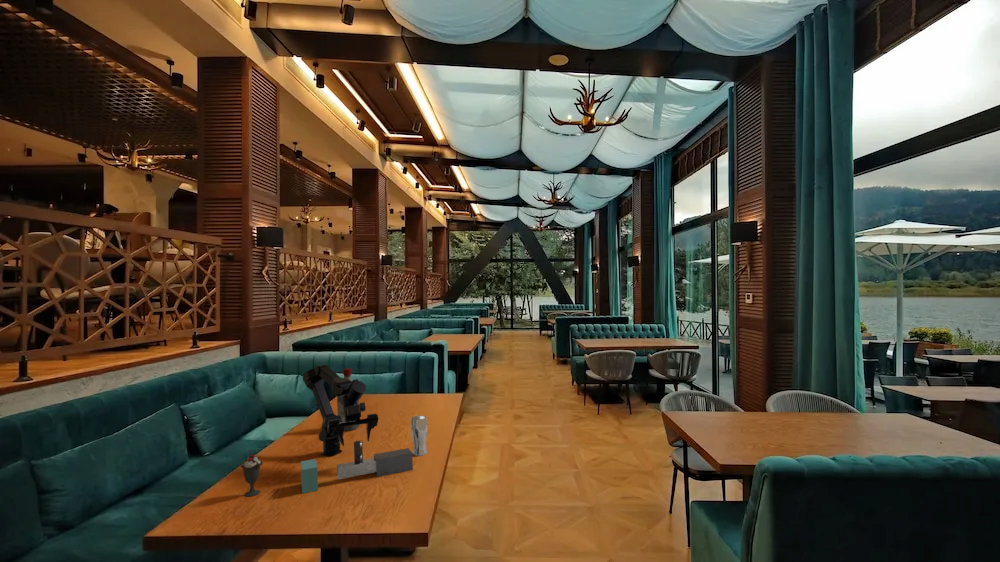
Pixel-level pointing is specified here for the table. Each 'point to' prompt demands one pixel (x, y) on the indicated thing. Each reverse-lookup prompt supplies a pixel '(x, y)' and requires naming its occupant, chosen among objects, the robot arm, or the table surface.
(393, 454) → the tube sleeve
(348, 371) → the liquor
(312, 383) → the robot arm
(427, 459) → the table surface
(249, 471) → the sundae
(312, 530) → the table surface
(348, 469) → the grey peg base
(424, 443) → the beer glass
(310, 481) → the socket block
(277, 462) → the table surface
